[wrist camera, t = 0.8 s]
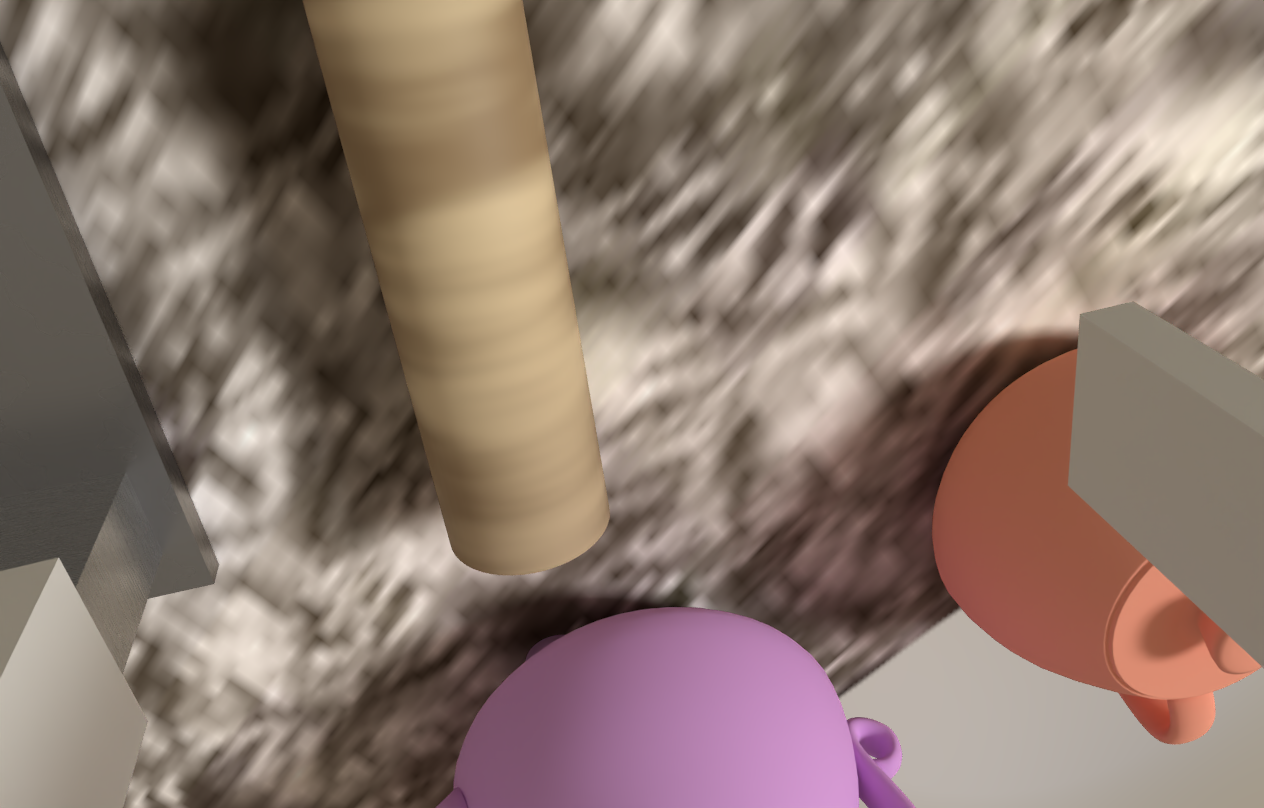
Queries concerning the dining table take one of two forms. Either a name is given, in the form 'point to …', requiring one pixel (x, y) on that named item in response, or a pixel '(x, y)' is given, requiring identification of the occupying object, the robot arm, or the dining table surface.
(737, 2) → the dining table surface
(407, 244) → the baguette
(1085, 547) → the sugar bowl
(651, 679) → the teapot
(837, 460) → the dining table surface
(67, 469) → the bracket stand
